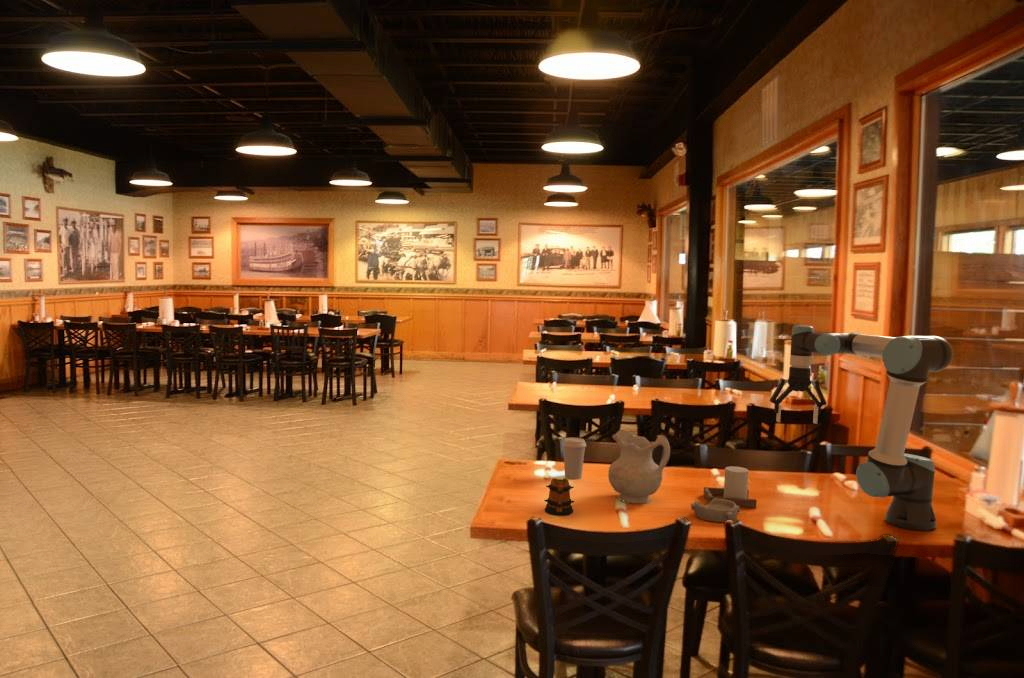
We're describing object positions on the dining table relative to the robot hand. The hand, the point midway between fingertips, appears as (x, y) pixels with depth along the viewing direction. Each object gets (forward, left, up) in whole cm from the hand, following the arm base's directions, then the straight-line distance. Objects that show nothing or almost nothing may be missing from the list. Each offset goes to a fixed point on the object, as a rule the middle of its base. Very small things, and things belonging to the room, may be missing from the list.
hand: (796, 422), depth 293 cm
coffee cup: (+6, +83, -27) cm, 87 cm away
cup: (-17, +25, -27) cm, 40 cm away
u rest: (-17, +27, -27) cm, 42 cm away
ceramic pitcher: (-20, +60, -27) cm, 69 cm away
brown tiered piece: (-40, +88, -27) cm, 100 cm away
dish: (-36, +35, -27) cm, 57 cm away
